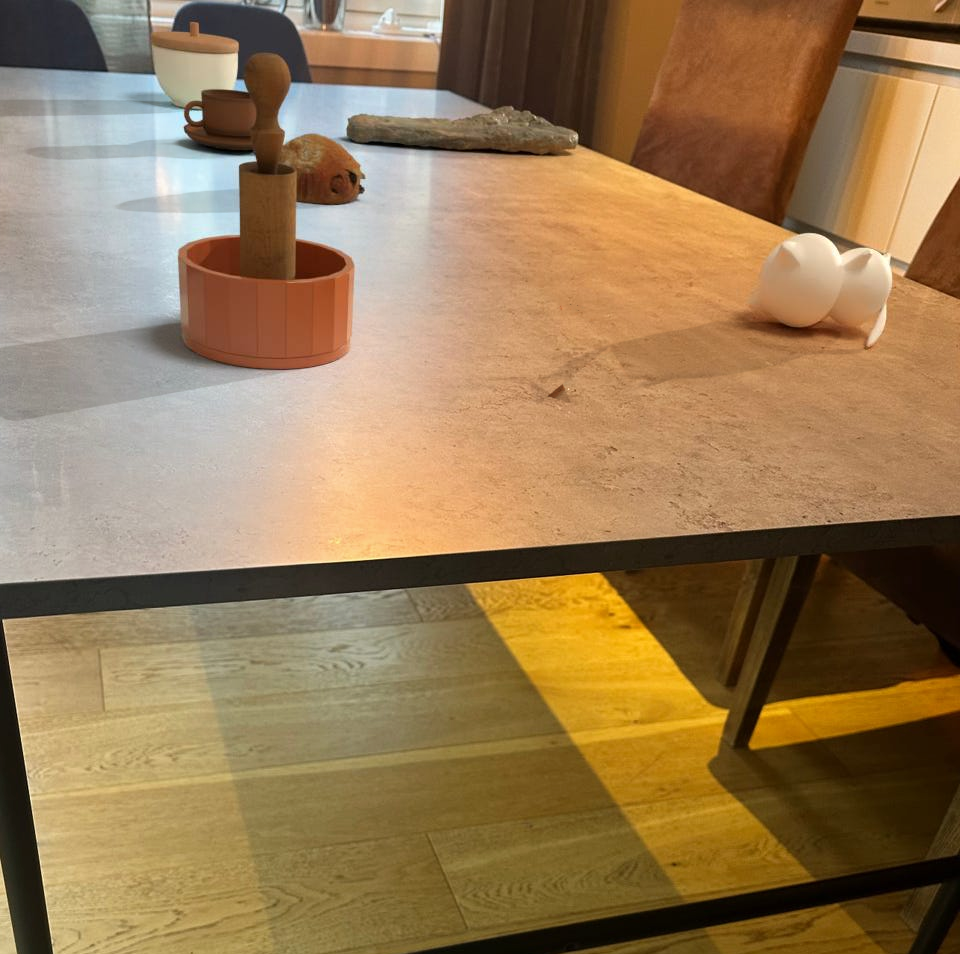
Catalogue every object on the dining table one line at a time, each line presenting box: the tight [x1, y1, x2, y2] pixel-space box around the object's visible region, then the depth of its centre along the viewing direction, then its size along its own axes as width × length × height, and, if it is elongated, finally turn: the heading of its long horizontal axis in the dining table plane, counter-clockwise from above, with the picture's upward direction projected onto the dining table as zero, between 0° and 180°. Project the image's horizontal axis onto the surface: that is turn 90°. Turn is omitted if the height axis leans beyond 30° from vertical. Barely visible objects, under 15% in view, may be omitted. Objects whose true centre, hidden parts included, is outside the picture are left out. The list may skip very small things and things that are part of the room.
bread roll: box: [279, 132, 367, 205], centre depth 121 cm, size 10×10×8 cm
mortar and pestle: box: [238, 52, 297, 280], centre depth 75 cm, size 7×6×18 cm
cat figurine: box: [746, 232, 893, 348], centre depth 95 cm, size 9×11×12 cm
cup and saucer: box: [183, 89, 256, 151], centre depth 139 cm, size 12×12×6 cm
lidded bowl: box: [149, 21, 240, 111], centre depth 161 cm, size 13×13×11 cm
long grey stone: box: [345, 105, 579, 156], centre depth 157 cm, size 35×5×10 cm
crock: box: [177, 234, 356, 370], centre depth 78 cm, size 12×12×6 cm
